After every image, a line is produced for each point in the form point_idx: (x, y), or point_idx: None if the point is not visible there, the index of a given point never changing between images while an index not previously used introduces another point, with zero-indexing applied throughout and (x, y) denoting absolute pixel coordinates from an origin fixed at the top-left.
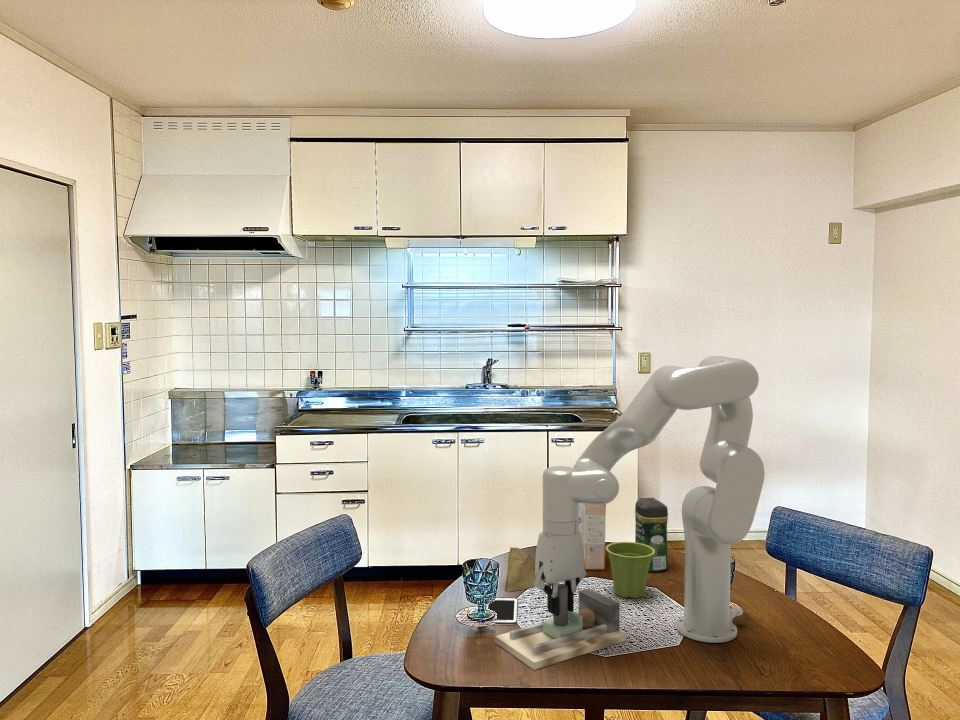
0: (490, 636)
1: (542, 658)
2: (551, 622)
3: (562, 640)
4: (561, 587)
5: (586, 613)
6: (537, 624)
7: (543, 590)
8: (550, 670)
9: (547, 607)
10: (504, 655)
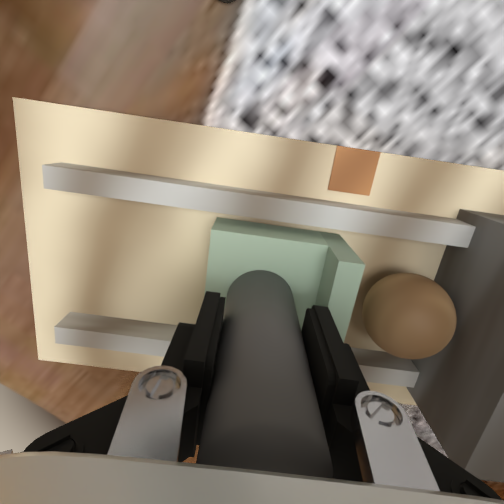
0: (49, 24)
1: (79, 357)
2: (233, 268)
3: None
4: None
5: (398, 351)
6: (204, 197)
7: (77, 429)
8: (96, 371)
9: (177, 325)
10: (17, 211)
